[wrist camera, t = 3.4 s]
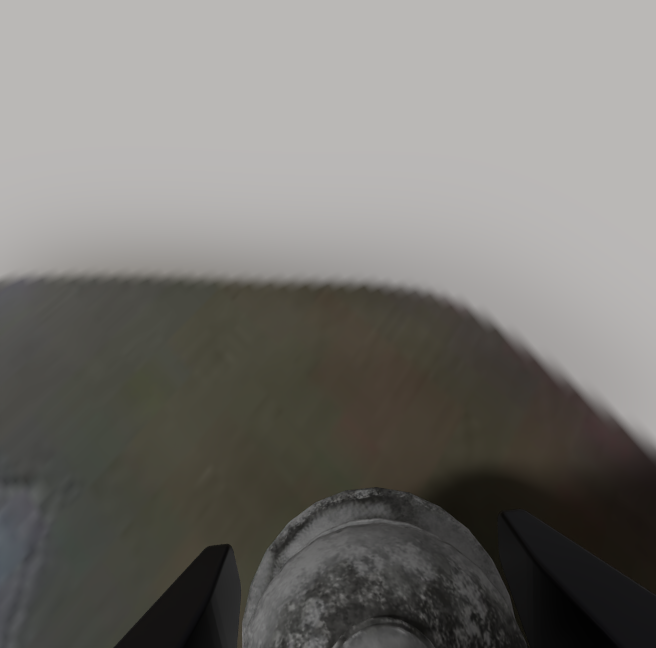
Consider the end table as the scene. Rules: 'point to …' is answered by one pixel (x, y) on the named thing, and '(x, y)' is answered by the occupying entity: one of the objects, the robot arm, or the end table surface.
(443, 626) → the grey stone chess bishop
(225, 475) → the end table surface
